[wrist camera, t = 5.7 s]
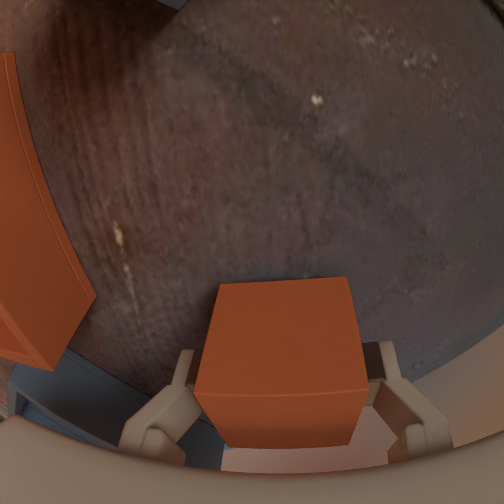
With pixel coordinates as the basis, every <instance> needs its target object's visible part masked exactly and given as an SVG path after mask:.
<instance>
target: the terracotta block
mask: <svg viewBox="0 0 504 504" xmlns="http://www.w3.org/2000/svg"><path fill="white" fill-rule="evenodd" d="M368 390H369V385H368V379H367V372H366V366H365V361H364V355H363V350H362V344H361V339H360V334H359V329H358V324H357V319H356V314H355V310H354V305H353V300H352V296H351V292H350V287H349V283H348V279H347V276H340V277H327V278H312V279H298V280H282V281H265V282H247V283H228V284H220V286H219V290H218V294H217V298H216V302H215V306H214V310H213V314H212V318H211V322H210V326H209V330H208V334H207V338H206V342H205V346H204V350H203V354H202V358H201V362H200V366H199V371H198V375H197V379H196V383H195V387H194V392H193V394H194V396H195V397H196V399H197V401H198V402H199V404H200V405H201V407H202V408H203V410H204V412H205V413H206V415H207V416H208V418H209V419H210V421H211V422H212V424H213V425H214V427H215V428H216V430H217V431H218V433H219V434H220V436H221V437H222V438H223V440H224V441H225V443H226V444H227V446H228V447H235V448H259V449H263V448H264V449H290V448H291V449H292V448H317V447H330V446H341V445H348V444H349V442H350V440H351V437H352V435H353V432H354V430H355V427H356V424H357V421H358V419H359V416H360V413H361V410H362V408H363V405H364V402H365V399H366V396H367V393H368Z"/></svg>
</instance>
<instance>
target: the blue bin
mask: <svg viewBox="0 0 504 504" xmlns="http://www.w3.org/2000/svg"><path fill="white" fill-rule="evenodd" d="M151 399H152V398H151V397H149V396H147V395H145V394H143V393H141V392H140V391H138V390H136V389H134V388H132V387H130V386H129V385H127V384H125V383H123V382H122V381H120V380H118V379H116V378H115V377H113V376H111V375H110V374H108V373H106V372H105V371H103V370H101V369H100V368H98V367H97V366H95V365H93V364H92V363H90V362H89V361H87V360H86V359H84V358H83V357H81V356H80V355H78V354H77V353H75V352H74V351H72V350H71V349H69V348H68V347H66V349H65V351H64V353H63V355H62V357H61V358H60V360H59V362H58V364H57V366H56V368H55V370H54V371H53V372H51V371H47V370H43V369H39V368H35V367H32V366H28V365H25V364H21V363H18V362H17V363H16V365H15V366H14V368H13V370H12V372H11V374H10V375H9V377H8V379H7V401H8V416H9V417H10V416H12V415H14V414H18V415H21V416H24V417H26V418H28V419H30V420H32V421H34V422H36V423H39V424H41V425H43V426H45V427H48V428H50V429H53V430H55V431H58V432H60V433H63V434H65V435H68V436H71V437H73V438H76V439H79V440H82V441H85V442H88V443H91V444H94V445H97V446H100V447H103V448H107V449H110V450H114V451H116V450H117V447H118V444H119V441H120V438H121V435H122V432H123V429H124V426H125V423H126V421H127V420H128V419H129V418H131V417H132V416H133V415H134V414H135V413H136V412H137V411H139V410H140V409H141V408H142V407H143V406H144V405H145V404H146V403H148V402H149V401H150V400H151ZM224 442H225V441H224V440H223V438H222V437H221V436H220V434H219V433H218V431H217V430H216V428H215V427H214V426H212V425H209V424H207V423H204V422H202V421H200V420H197V419H196V421H195V422H194V423H193V424H192V425H191V426H190V428H189V429H188V430H187V431H186V432H185V433H184V435H183V436H182V437H181V438H180V439H179V440H178V441H177V443H176V444H177V445H178V446H179V447H180V448H181V449H182V450H183V451H184V452H185V453H186V458H185V463H184V466H187V467H194V468H201V469H209V470H219V471H220V470H221V463H222V456H223V449H224Z"/></svg>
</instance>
